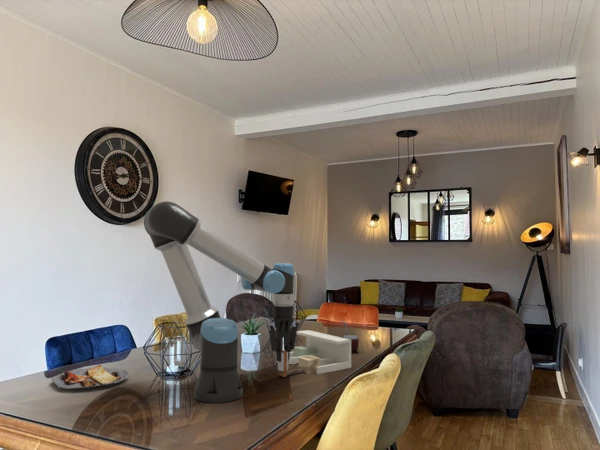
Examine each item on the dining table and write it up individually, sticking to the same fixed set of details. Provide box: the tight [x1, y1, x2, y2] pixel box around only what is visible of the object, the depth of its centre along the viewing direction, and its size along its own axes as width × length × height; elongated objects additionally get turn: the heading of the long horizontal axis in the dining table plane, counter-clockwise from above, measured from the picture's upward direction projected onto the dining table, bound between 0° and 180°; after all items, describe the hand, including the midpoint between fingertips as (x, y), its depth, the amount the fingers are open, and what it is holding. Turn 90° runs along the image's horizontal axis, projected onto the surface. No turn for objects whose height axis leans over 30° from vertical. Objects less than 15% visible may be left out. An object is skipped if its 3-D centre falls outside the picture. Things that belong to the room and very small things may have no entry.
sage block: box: [275, 341, 314, 363], centre depth 195 cm, size 16×6×9 cm, turn 127°
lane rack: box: [288, 329, 352, 375], centre depth 190 cm, size 17×28×11 cm, turn 37°
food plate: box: [51, 364, 130, 390], centre depth 161 cm, size 25×23×4 cm
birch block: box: [278, 349, 321, 378], centre depth 175 cm, size 16×6×9 cm, turn 127°
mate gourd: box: [342, 320, 359, 355], centre depth 212 cm, size 8×8×15 cm
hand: (282, 369), depth 170 cm, fingers closed on birch block
